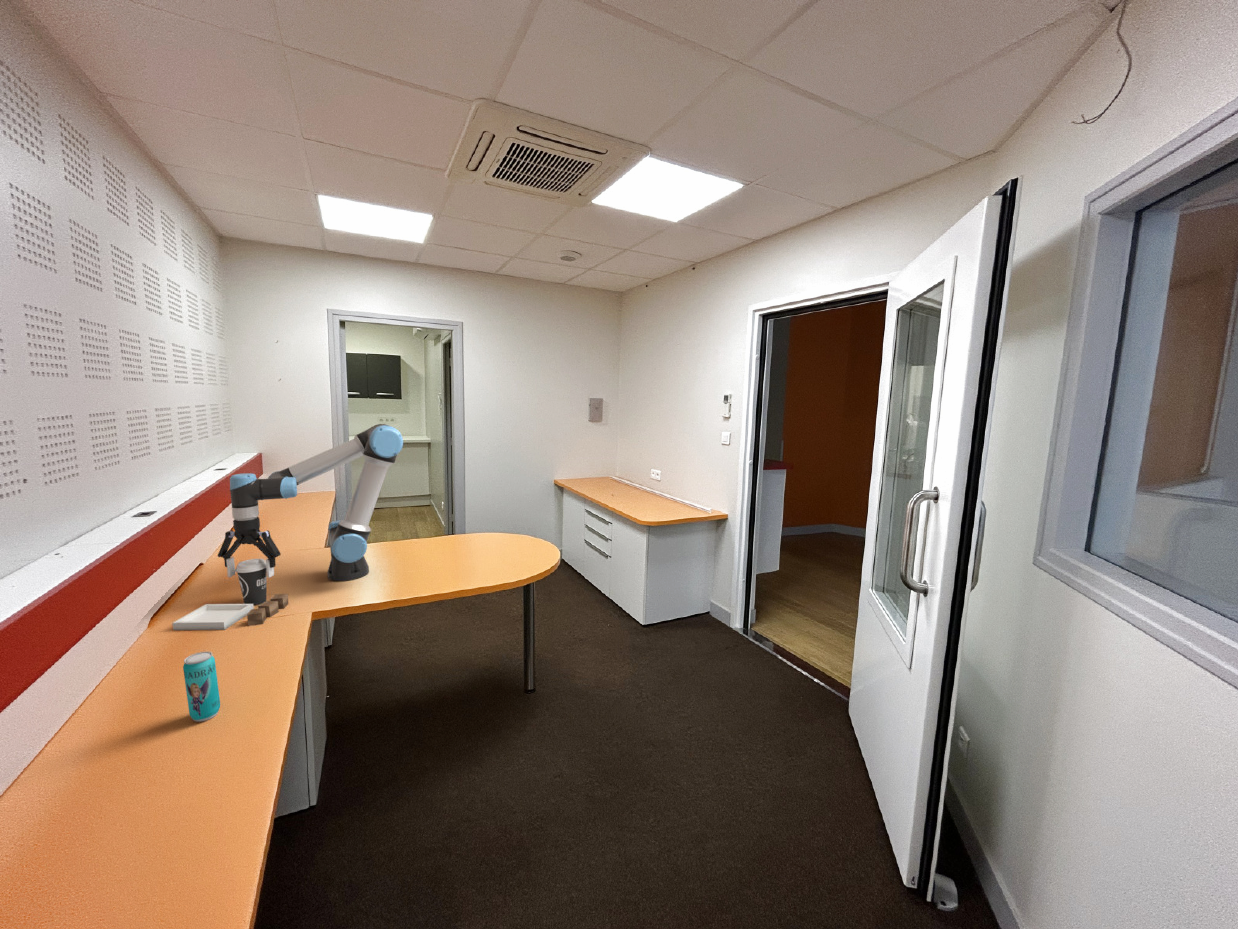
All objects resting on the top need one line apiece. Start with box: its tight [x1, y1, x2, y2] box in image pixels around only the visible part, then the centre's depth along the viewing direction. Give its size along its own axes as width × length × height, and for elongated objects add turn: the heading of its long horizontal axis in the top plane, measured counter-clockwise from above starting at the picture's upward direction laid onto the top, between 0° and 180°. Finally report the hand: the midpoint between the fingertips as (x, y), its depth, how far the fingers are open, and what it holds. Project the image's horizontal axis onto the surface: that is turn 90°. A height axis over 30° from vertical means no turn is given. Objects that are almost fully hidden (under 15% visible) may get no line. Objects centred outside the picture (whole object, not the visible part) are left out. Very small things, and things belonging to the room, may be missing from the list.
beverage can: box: [182, 651, 221, 723], centre depth 121 cm, size 6×6×15 cm
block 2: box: [257, 600, 280, 618], centre depth 176 cm, size 4×4×4 cm
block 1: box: [246, 608, 267, 627], centre depth 170 cm, size 4×4×4 cm
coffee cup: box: [235, 558, 268, 607], centre depth 184 cm, size 10×10×15 cm
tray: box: [171, 603, 255, 631], centre depth 171 cm, size 16×14×2 cm
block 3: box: [269, 593, 290, 610], centre depth 181 cm, size 4×4×4 cm
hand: (251, 576), depth 184 cm, fingers open, 13 cm apart
